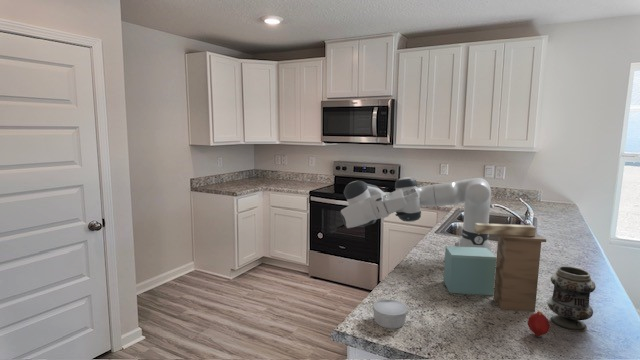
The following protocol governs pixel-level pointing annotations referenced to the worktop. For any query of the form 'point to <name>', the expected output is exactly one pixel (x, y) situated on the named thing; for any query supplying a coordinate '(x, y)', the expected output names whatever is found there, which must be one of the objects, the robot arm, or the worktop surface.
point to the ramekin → (390, 313)
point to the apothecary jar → (571, 298)
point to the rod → (505, 229)
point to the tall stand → (517, 271)
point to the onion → (538, 324)
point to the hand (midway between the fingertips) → (416, 192)
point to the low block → (469, 270)
